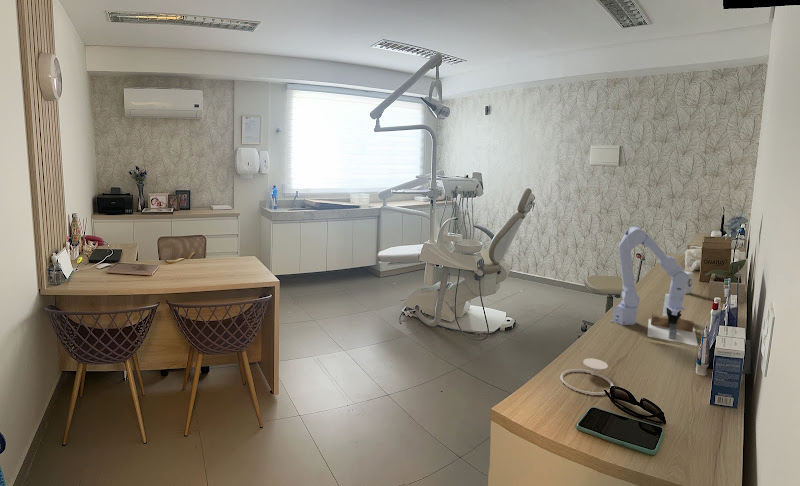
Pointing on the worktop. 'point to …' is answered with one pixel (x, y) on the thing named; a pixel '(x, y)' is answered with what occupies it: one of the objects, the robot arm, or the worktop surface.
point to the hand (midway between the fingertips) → (671, 326)
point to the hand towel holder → (595, 366)
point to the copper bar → (680, 324)
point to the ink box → (689, 282)
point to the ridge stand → (672, 334)
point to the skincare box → (665, 306)
